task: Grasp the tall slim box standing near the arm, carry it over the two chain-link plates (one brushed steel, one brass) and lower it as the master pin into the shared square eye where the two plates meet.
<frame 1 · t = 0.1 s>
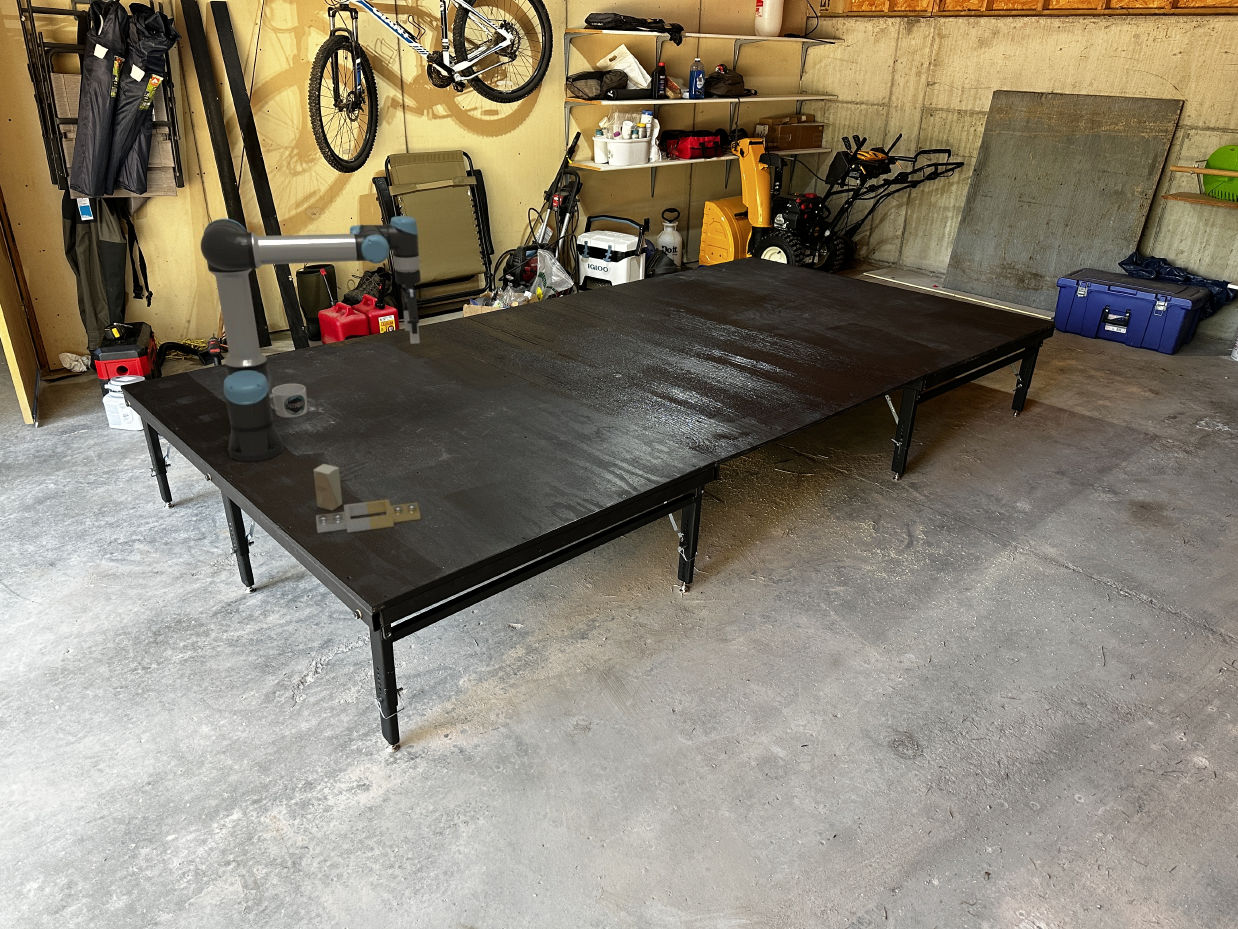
hand: (412, 336, 264), 28 cm above the table, fingers open, 13 cm apart
mug: (288, 413, 276), on the table
box: (330, 506, 222), on the table
link a: (369, 520, 215), on the table
link b: (369, 520, 215), on the table
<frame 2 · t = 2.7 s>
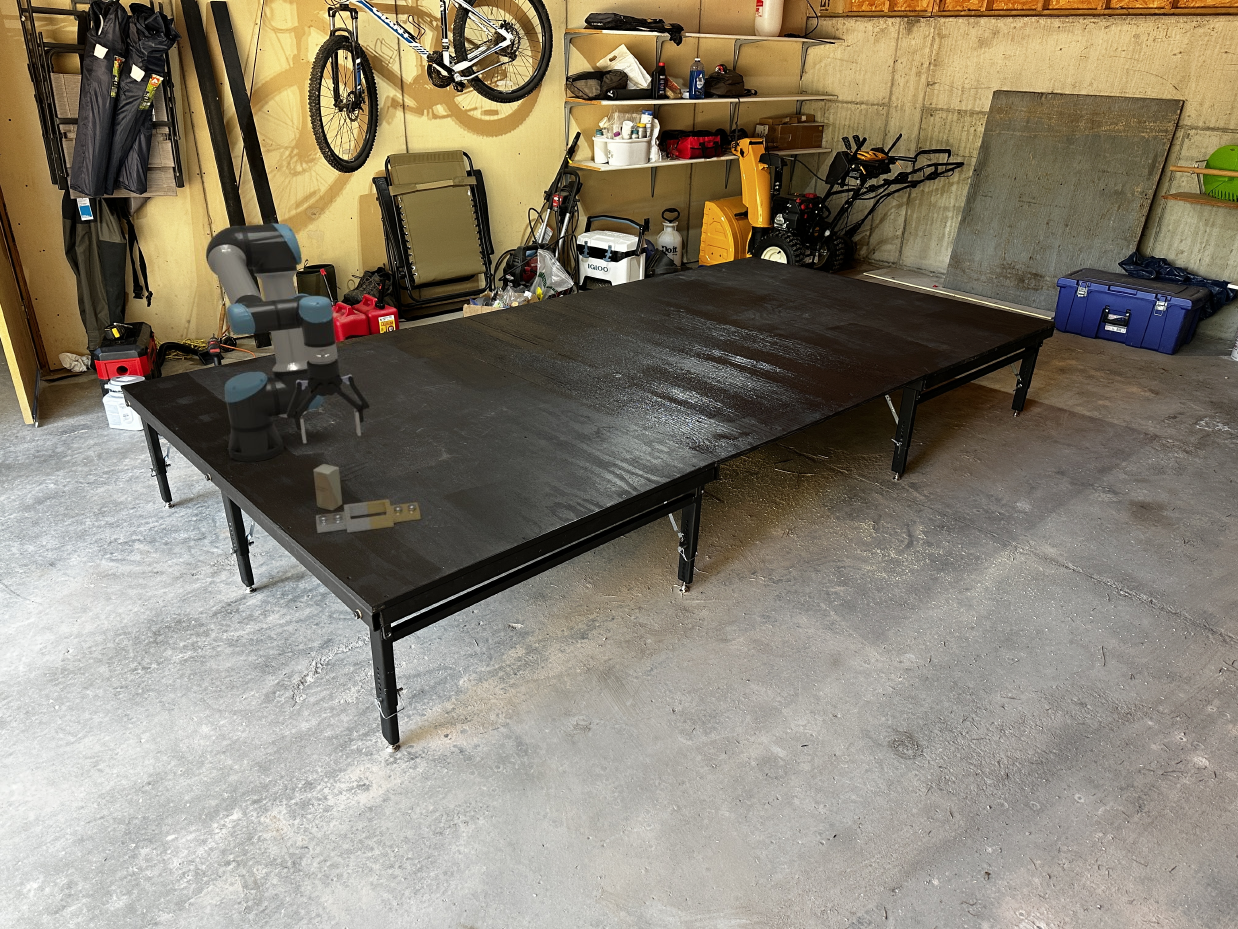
hand: (331, 437, 218), 18 cm above the table, fingers open, 13 cm apart
nothing on the table moved.
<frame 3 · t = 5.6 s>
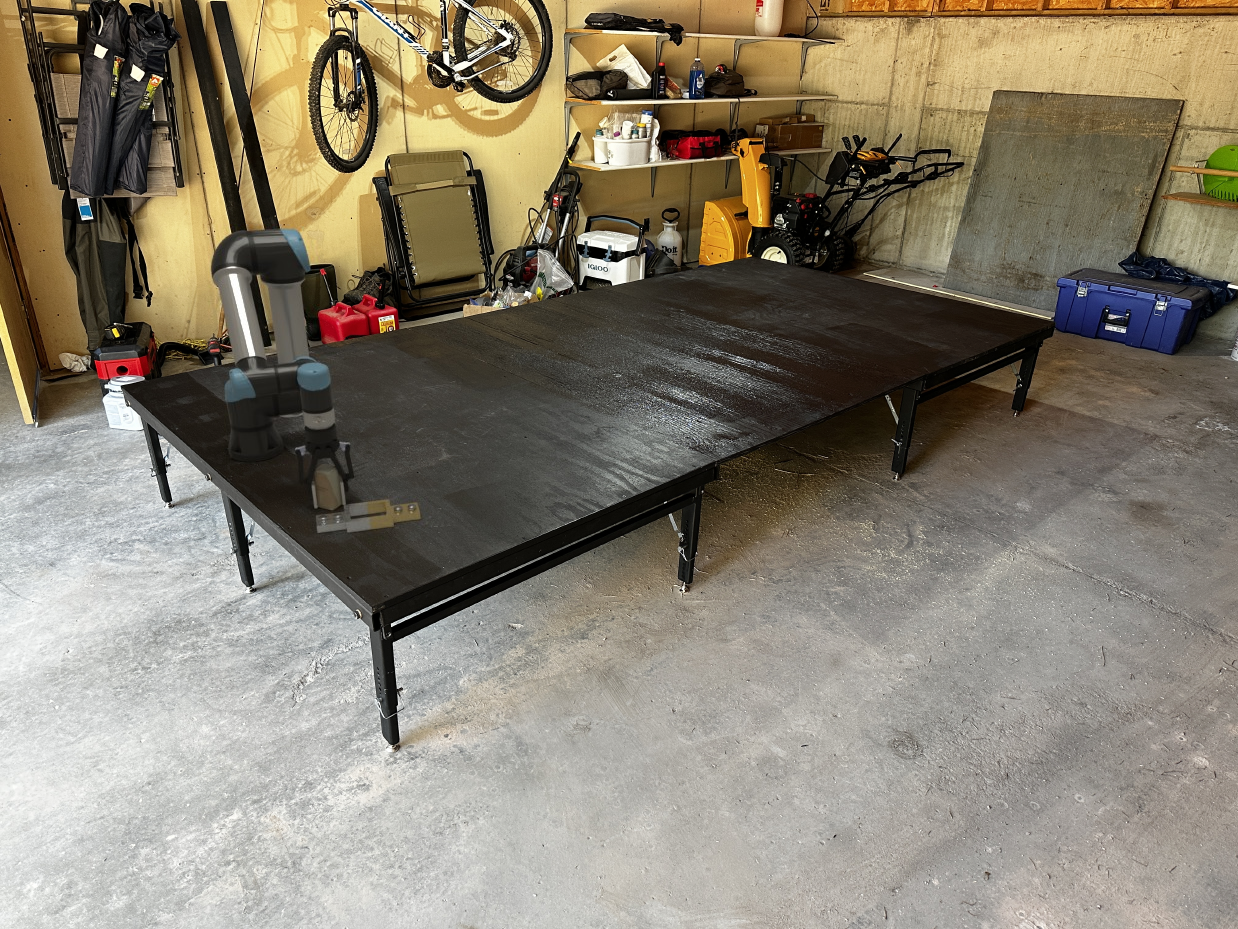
hand: (330, 503, 222), 0 cm above the table, fingers closed on box, 6 cm apart
box: (330, 506, 222), on the table, touching gripper
everything else where it was.
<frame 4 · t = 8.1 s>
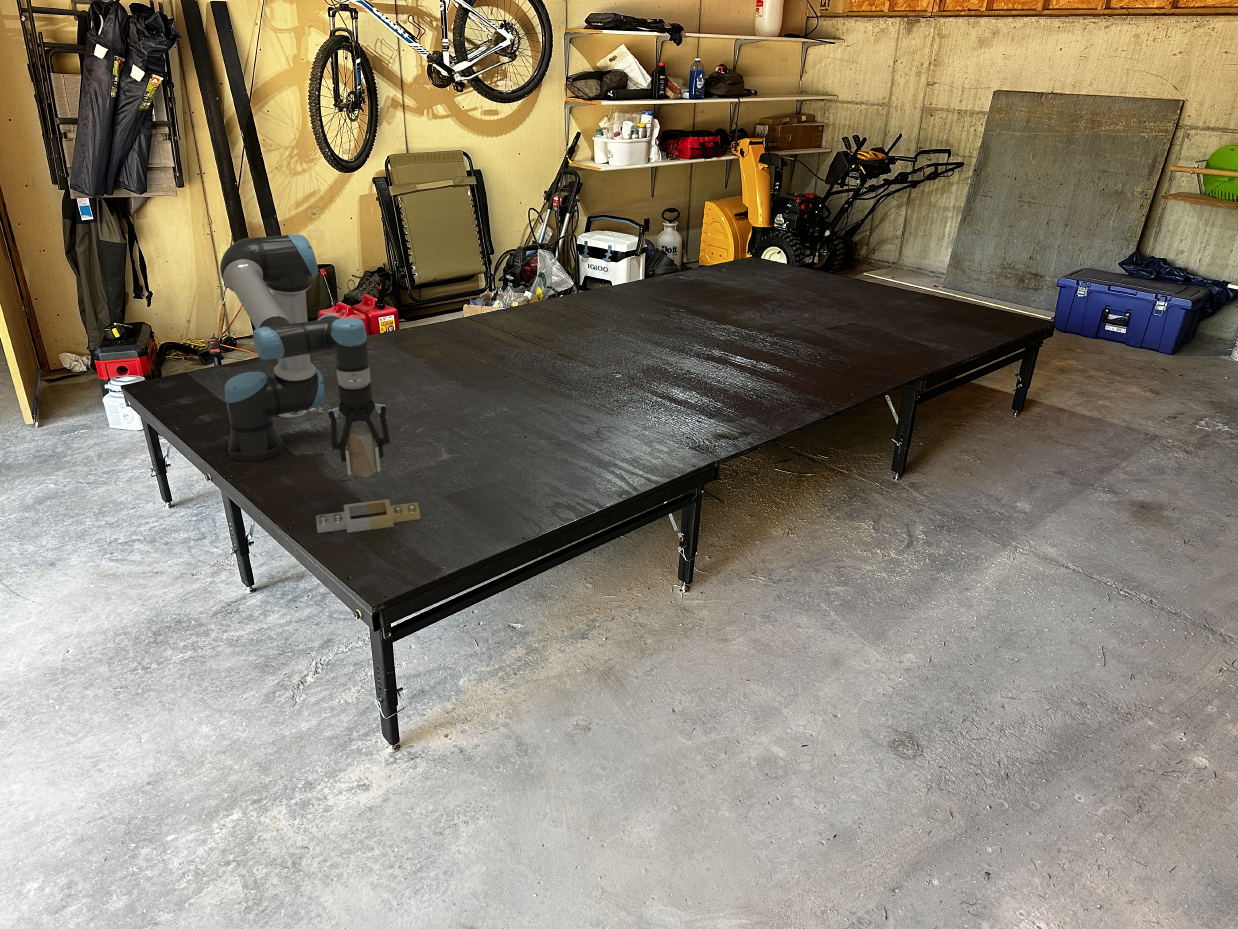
hand: (363, 470, 209), 15 cm above the table, fingers closed on box, 6 cm apart
box: (364, 473, 209), point 14 cm above the table, touching gripper
everything else where it was.
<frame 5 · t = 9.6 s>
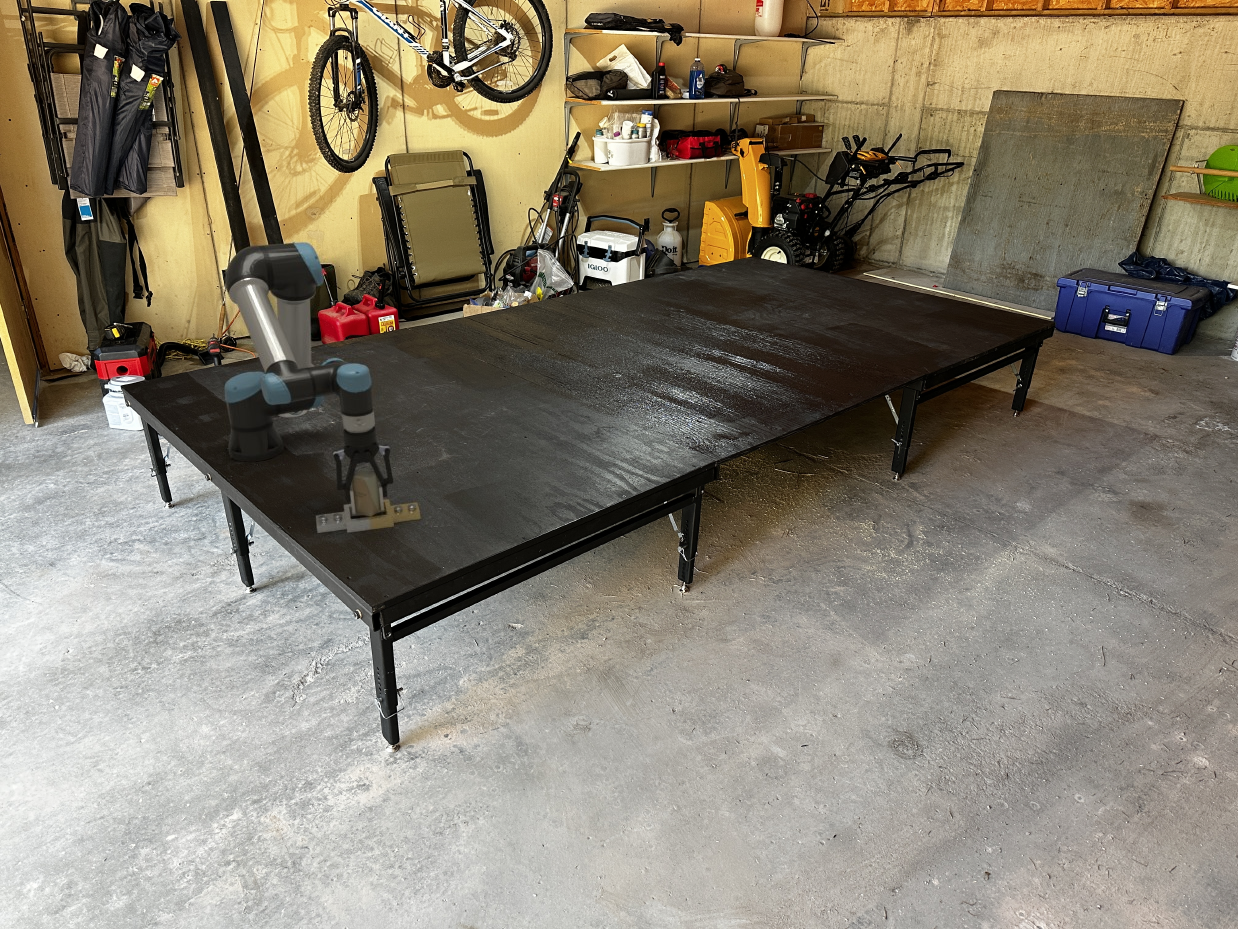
hand: (368, 509, 214), 3 cm above the table, fingers closed on box, 6 cm apart
box: (368, 512, 214), point 3 cm above the table, touching gripper
everything else where it was.
when the fingers open (2 cm above the table, at t = 10.8 s): box drops 2 cm, on the table.
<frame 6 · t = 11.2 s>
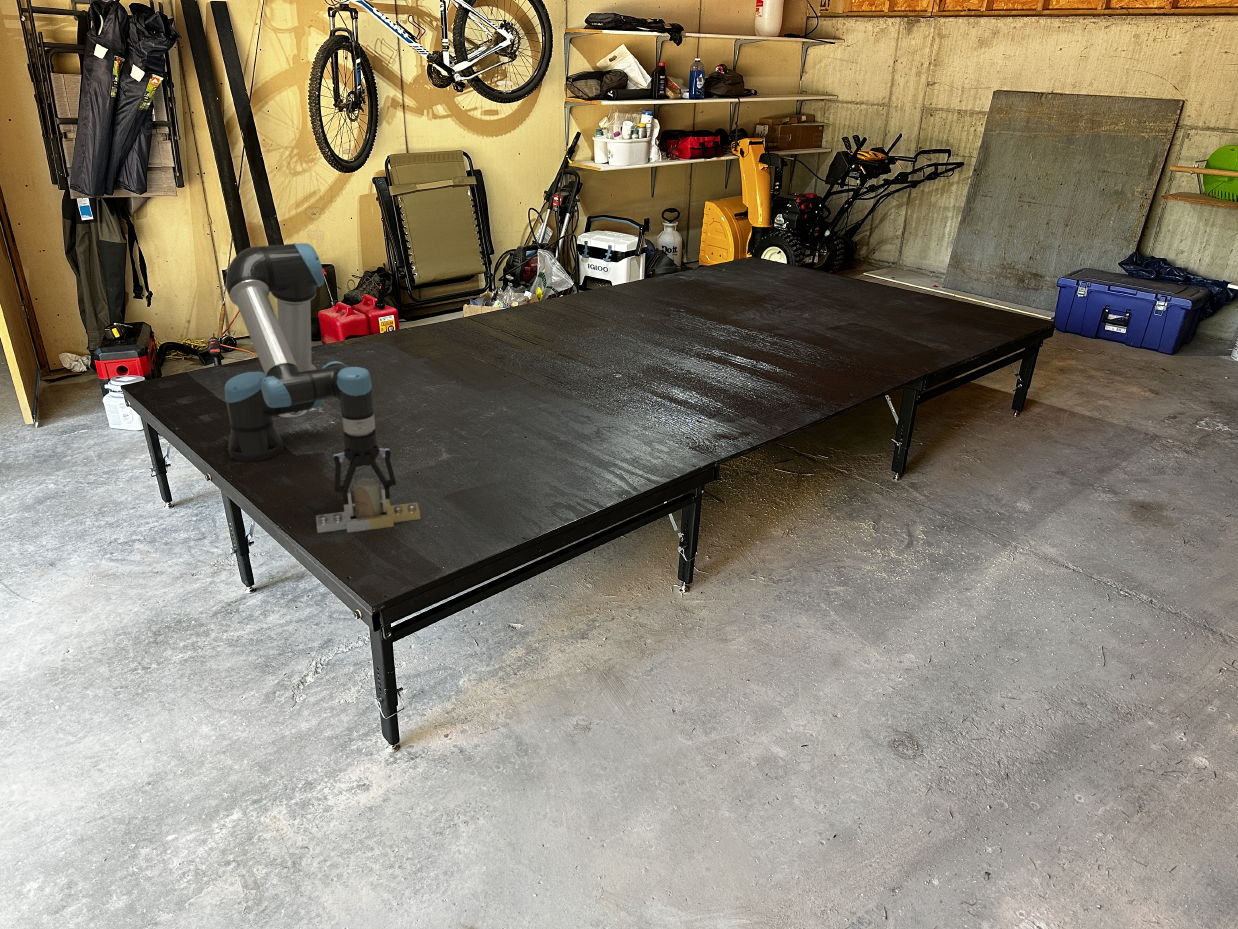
hand: (368, 511, 214), 3 cm above the table, fingers open, 8 cm apart
box: (369, 521, 216), on the table
everything else where it was.
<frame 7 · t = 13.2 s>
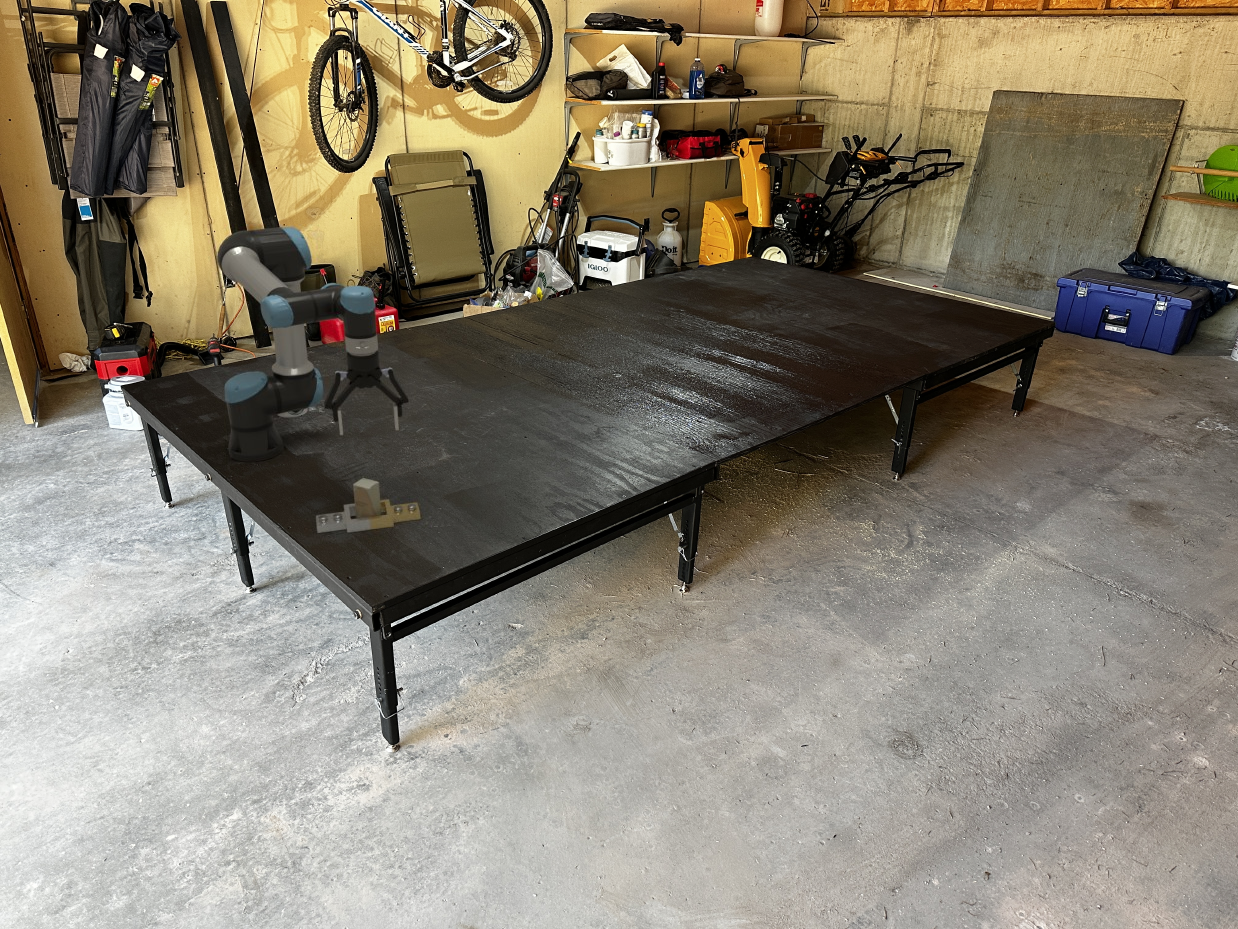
hand: (369, 430, 213), 22 cm above the table, fingers open, 13 cm apart
nothing on the table moved.
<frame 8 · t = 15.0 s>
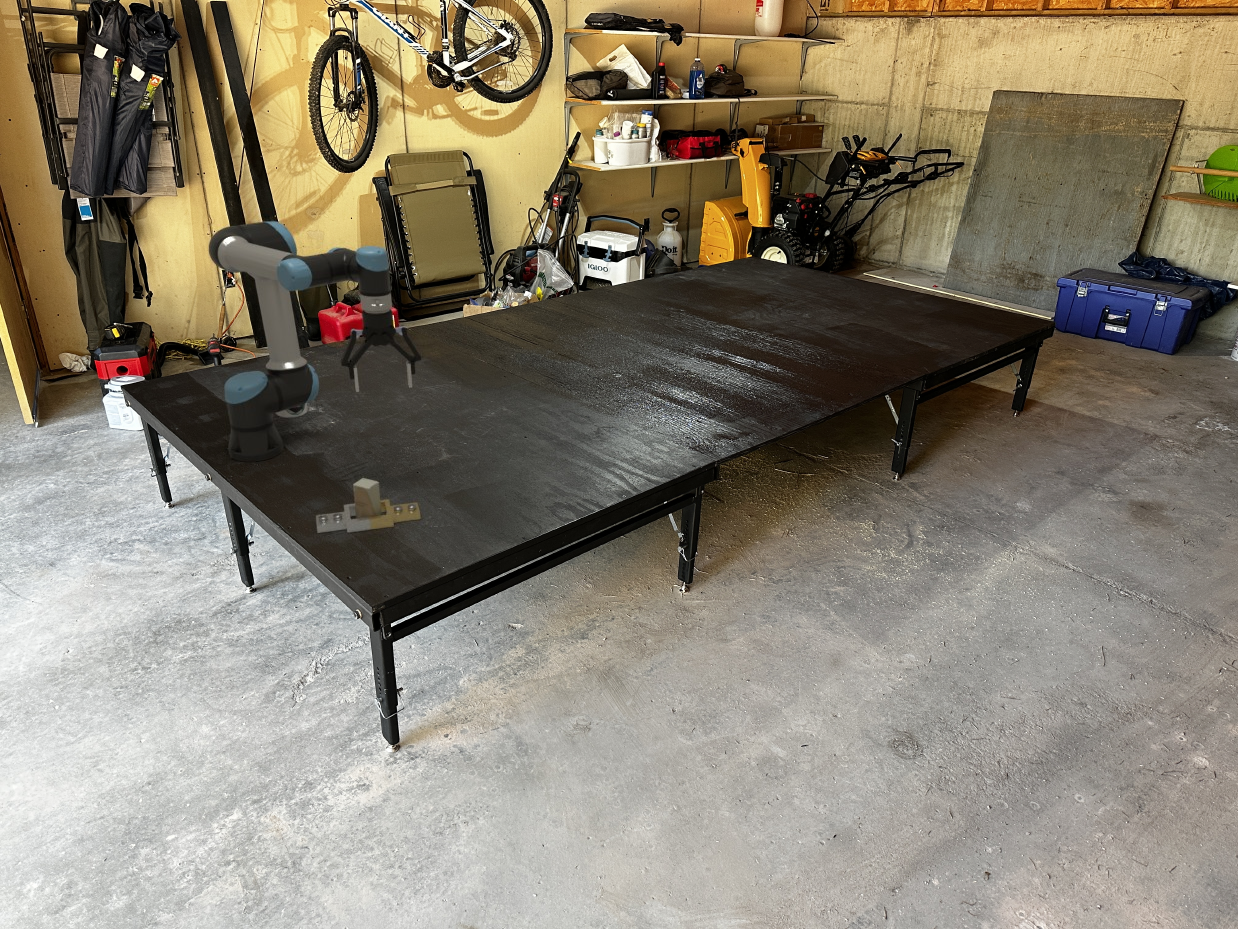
hand: (384, 388, 221), 29 cm above the table, fingers open, 13 cm apart
nothing on the table moved.
at the end: box inside the target area (0.1 cm from its centre), on the table; box tilted 0°; the gripper is holding nothing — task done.
